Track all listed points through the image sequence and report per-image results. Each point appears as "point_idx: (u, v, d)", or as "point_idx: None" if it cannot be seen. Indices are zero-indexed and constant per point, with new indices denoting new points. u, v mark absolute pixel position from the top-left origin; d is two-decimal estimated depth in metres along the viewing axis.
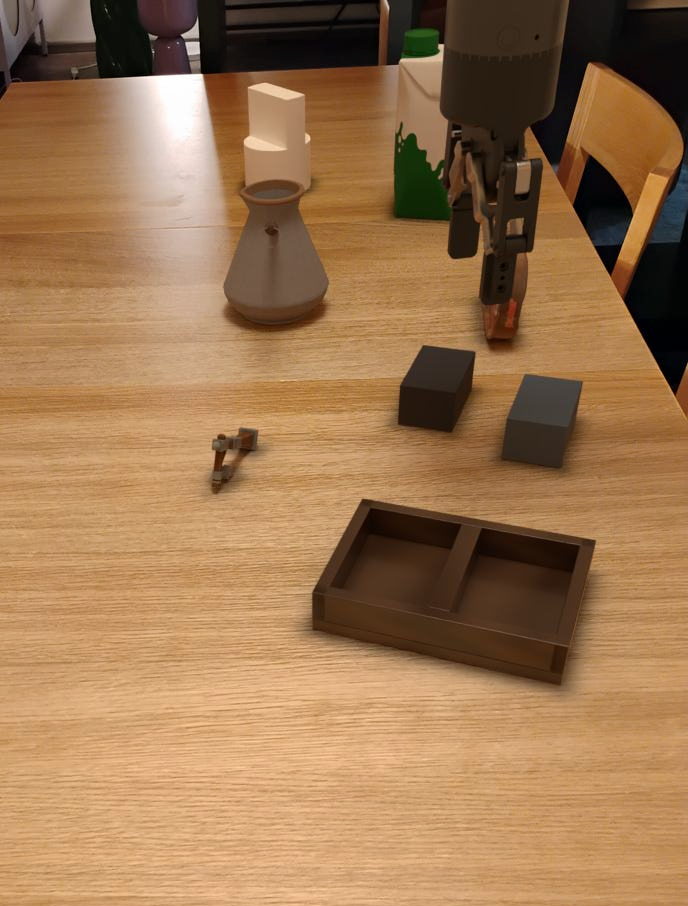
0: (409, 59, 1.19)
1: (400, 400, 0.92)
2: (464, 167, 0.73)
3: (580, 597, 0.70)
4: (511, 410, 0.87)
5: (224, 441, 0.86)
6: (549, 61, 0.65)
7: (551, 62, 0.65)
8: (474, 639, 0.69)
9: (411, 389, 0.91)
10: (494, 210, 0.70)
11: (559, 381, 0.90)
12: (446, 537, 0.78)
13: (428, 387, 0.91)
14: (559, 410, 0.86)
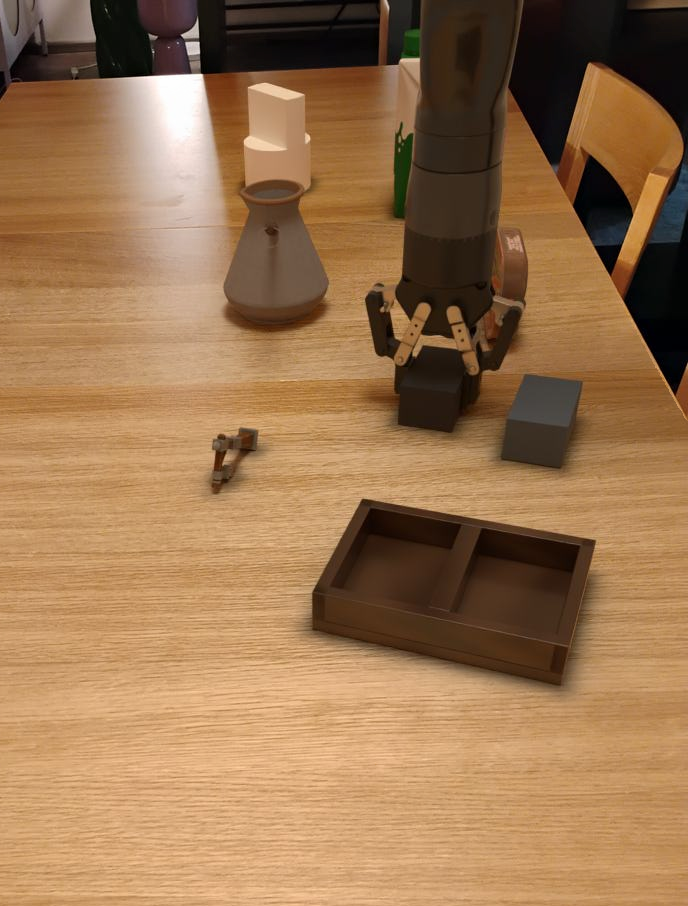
0: (409, 59, 1.19)
1: (400, 400, 0.92)
2: None
3: (580, 597, 0.70)
4: (511, 410, 0.87)
5: (224, 441, 0.86)
6: None
7: None
8: (474, 639, 0.69)
9: (411, 389, 0.91)
10: (474, 342, 0.90)
11: (559, 381, 0.90)
12: (446, 537, 0.78)
13: (428, 387, 0.91)
14: (559, 410, 0.86)
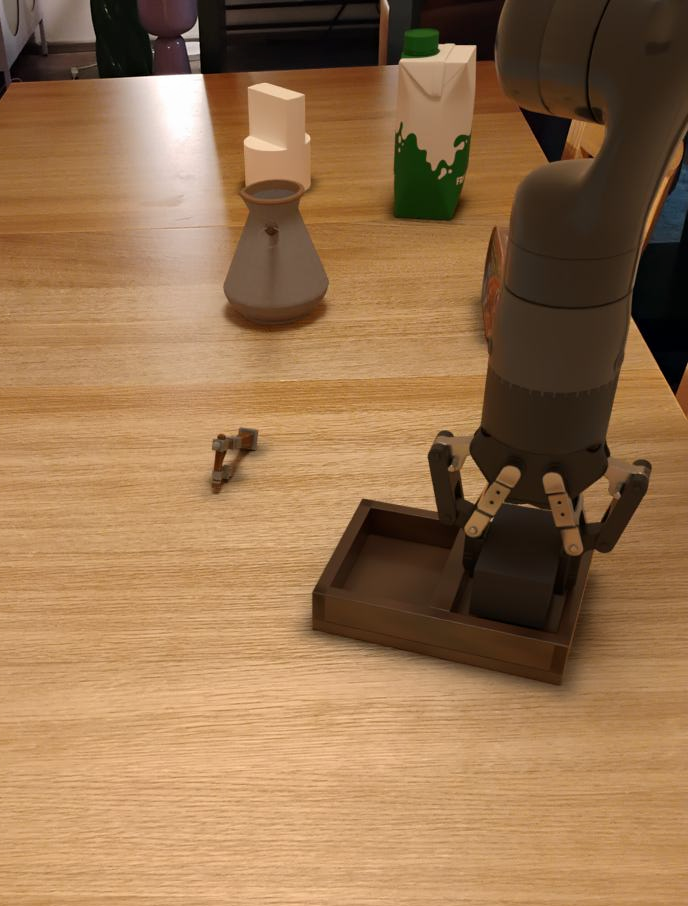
0: (409, 59, 1.19)
1: (473, 587, 0.69)
2: None
3: (580, 597, 0.70)
4: None
5: (224, 441, 0.86)
6: None
7: None
8: (474, 639, 0.69)
9: (489, 575, 0.67)
10: (577, 515, 0.66)
11: None
12: (446, 537, 0.78)
13: (513, 574, 0.67)
14: None
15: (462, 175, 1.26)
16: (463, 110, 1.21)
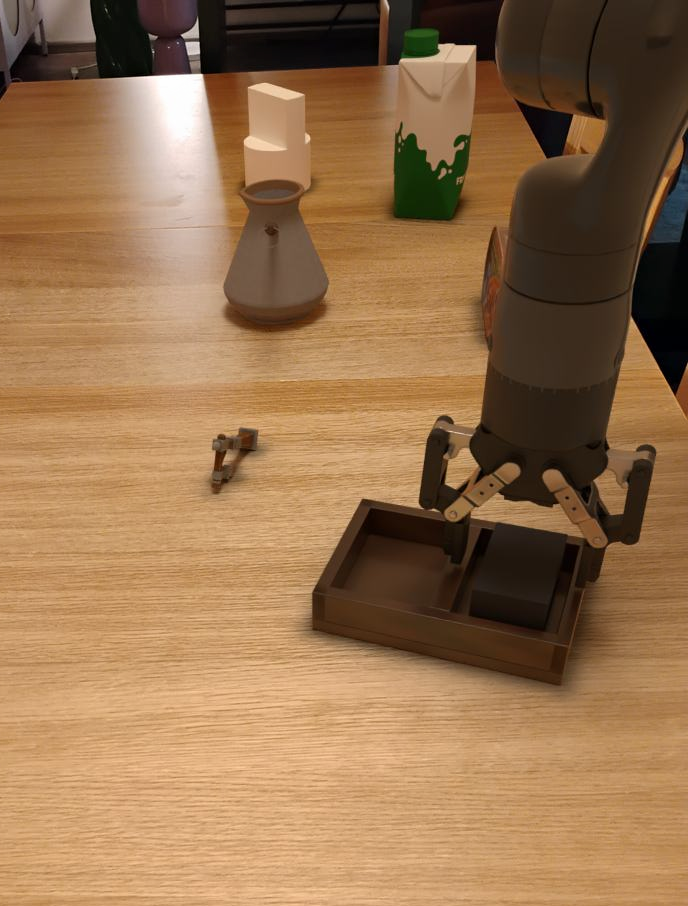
0: (409, 59, 1.19)
1: (471, 606, 0.70)
2: None
3: (580, 597, 0.70)
4: None
5: (224, 441, 0.86)
6: None
7: None
8: (474, 639, 0.69)
9: (487, 594, 0.69)
10: (591, 506, 0.65)
11: None
12: None
13: (510, 594, 0.68)
14: None
15: (462, 175, 1.26)
16: (463, 110, 1.21)
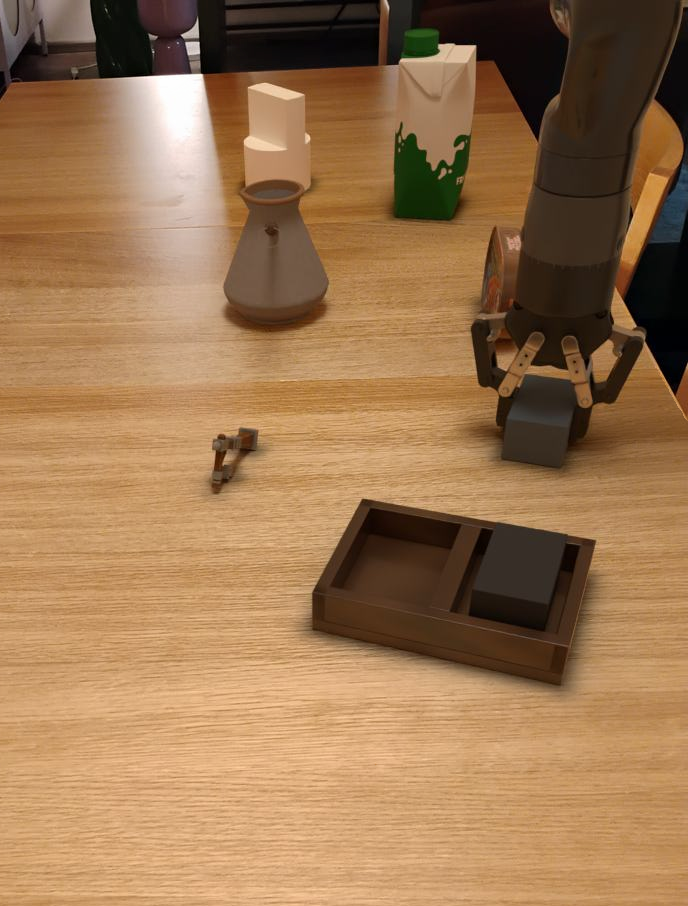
0: (409, 59, 1.19)
1: (471, 606, 0.70)
2: None
3: (580, 597, 0.70)
4: (511, 410, 0.87)
5: (224, 441, 0.86)
6: None
7: None
8: (474, 639, 0.69)
9: (487, 594, 0.69)
10: (588, 373, 0.84)
11: (559, 381, 0.90)
12: (446, 537, 0.78)
13: (510, 594, 0.68)
14: (559, 410, 0.86)
15: (462, 175, 1.26)
16: (463, 110, 1.21)
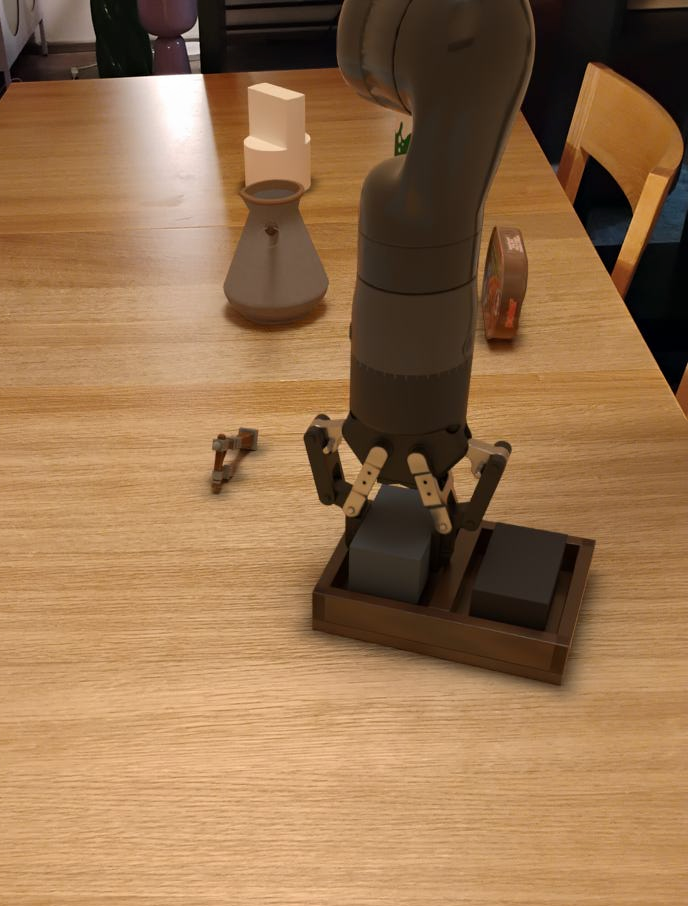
0: None
1: (471, 606, 0.70)
2: None
3: (580, 597, 0.70)
4: (356, 535, 0.71)
5: (224, 441, 0.86)
6: None
7: None
8: (474, 639, 0.69)
9: (487, 594, 0.69)
10: (444, 494, 0.69)
11: None
12: None
13: (510, 594, 0.68)
14: (414, 536, 0.71)
15: None
16: None
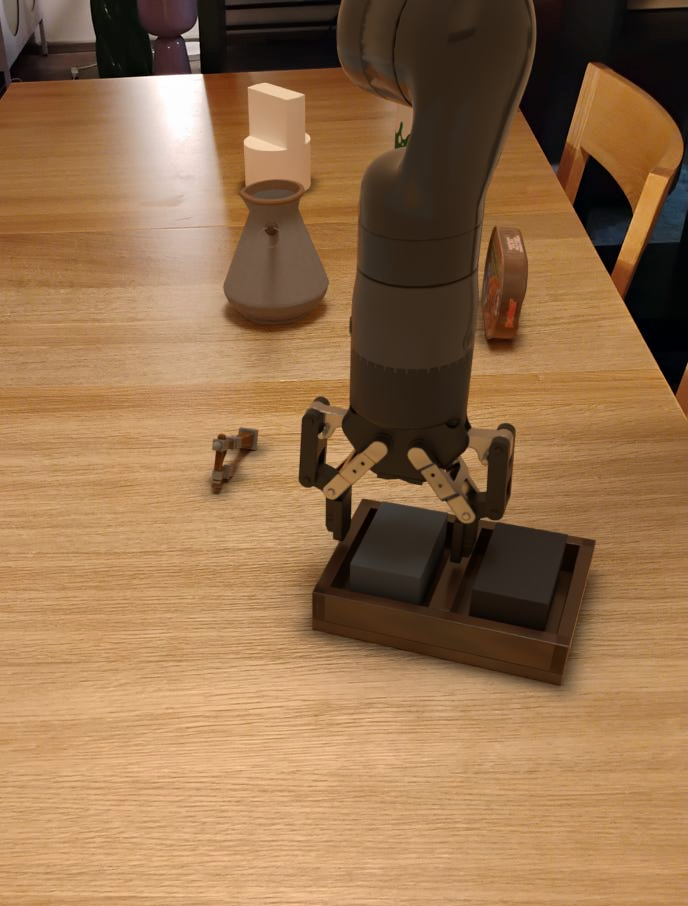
0: None
1: (471, 606, 0.70)
2: None
3: (580, 597, 0.70)
4: (357, 552, 0.73)
5: (225, 441, 0.86)
6: None
7: None
8: (474, 639, 0.69)
9: (487, 594, 0.69)
10: (458, 483, 0.68)
11: (420, 512, 0.75)
12: (446, 537, 0.78)
13: (510, 594, 0.68)
14: (414, 554, 0.72)
15: None
16: None
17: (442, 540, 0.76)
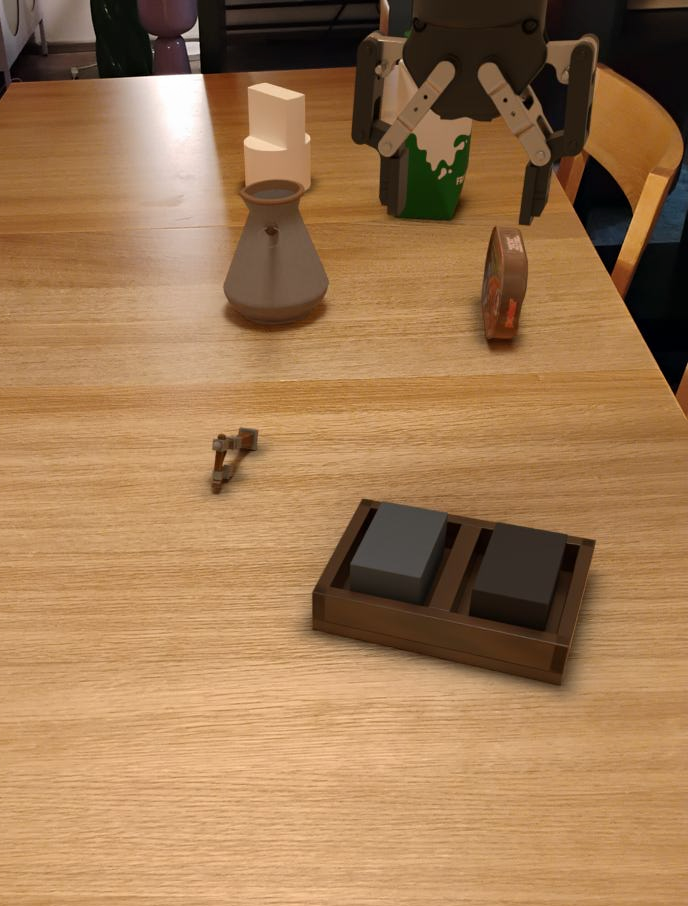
0: None
1: (471, 606, 0.70)
2: (441, 93, 0.62)
3: (580, 597, 0.70)
4: (357, 552, 0.73)
5: (225, 441, 0.86)
6: None
7: None
8: (474, 639, 0.69)
9: (487, 594, 0.69)
10: (532, 115, 0.61)
11: (420, 512, 0.75)
12: (446, 537, 0.78)
13: (510, 594, 0.68)
14: (414, 554, 0.72)
15: (462, 175, 1.26)
16: None
17: (442, 540, 0.76)
